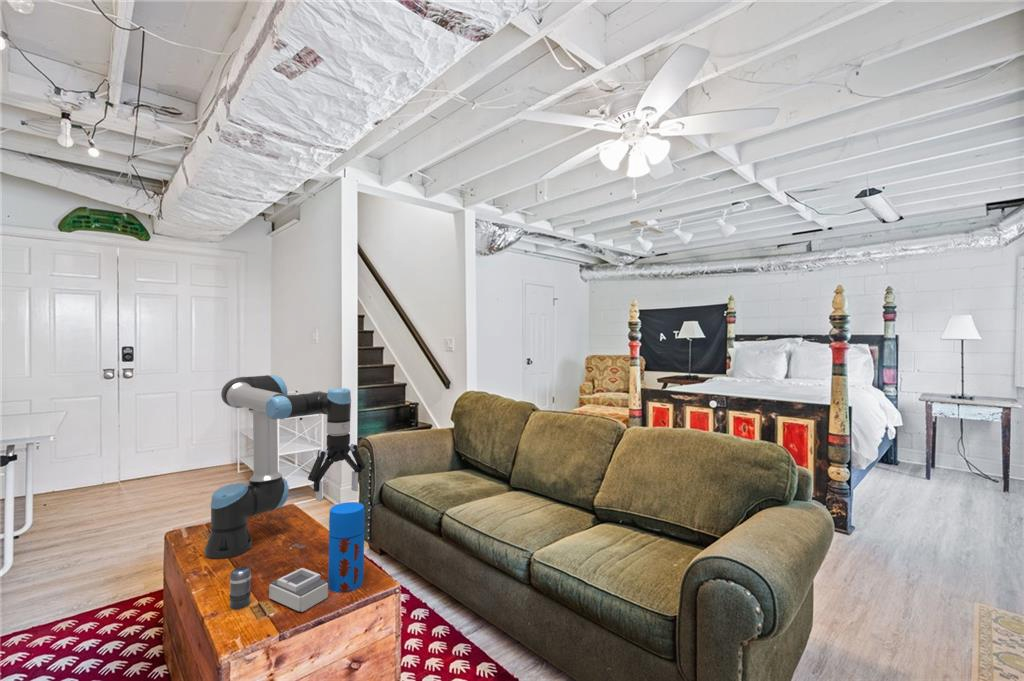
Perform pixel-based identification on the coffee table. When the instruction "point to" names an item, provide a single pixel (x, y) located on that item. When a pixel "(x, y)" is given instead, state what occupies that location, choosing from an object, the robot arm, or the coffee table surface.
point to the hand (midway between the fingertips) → (337, 495)
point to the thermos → (346, 547)
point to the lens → (240, 588)
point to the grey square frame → (299, 589)
